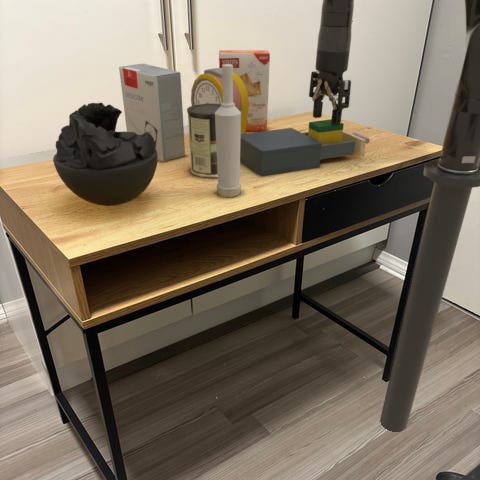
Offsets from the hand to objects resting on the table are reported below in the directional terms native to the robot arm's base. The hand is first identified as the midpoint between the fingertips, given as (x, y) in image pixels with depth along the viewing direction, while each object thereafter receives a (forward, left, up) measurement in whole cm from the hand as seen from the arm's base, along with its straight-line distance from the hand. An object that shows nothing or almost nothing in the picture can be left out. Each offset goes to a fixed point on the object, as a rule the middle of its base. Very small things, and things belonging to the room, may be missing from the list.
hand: (325, 121), depth 126 cm
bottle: (+32, +14, -9) cm, 36 cm away
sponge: (0, 0, -6) cm, 6 cm away
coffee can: (+30, -1, -9) cm, 32 cm away
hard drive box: (+38, -20, -9) cm, 44 cm away
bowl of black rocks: (+56, +9, -9) cm, 58 cm away
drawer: (-3, 0, -7) cm, 8 cm away
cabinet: (+13, 0, -8) cm, 16 cm away
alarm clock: (+19, -23, -9) cm, 31 cm away
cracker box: (+8, -31, -9) cm, 33 cm away
